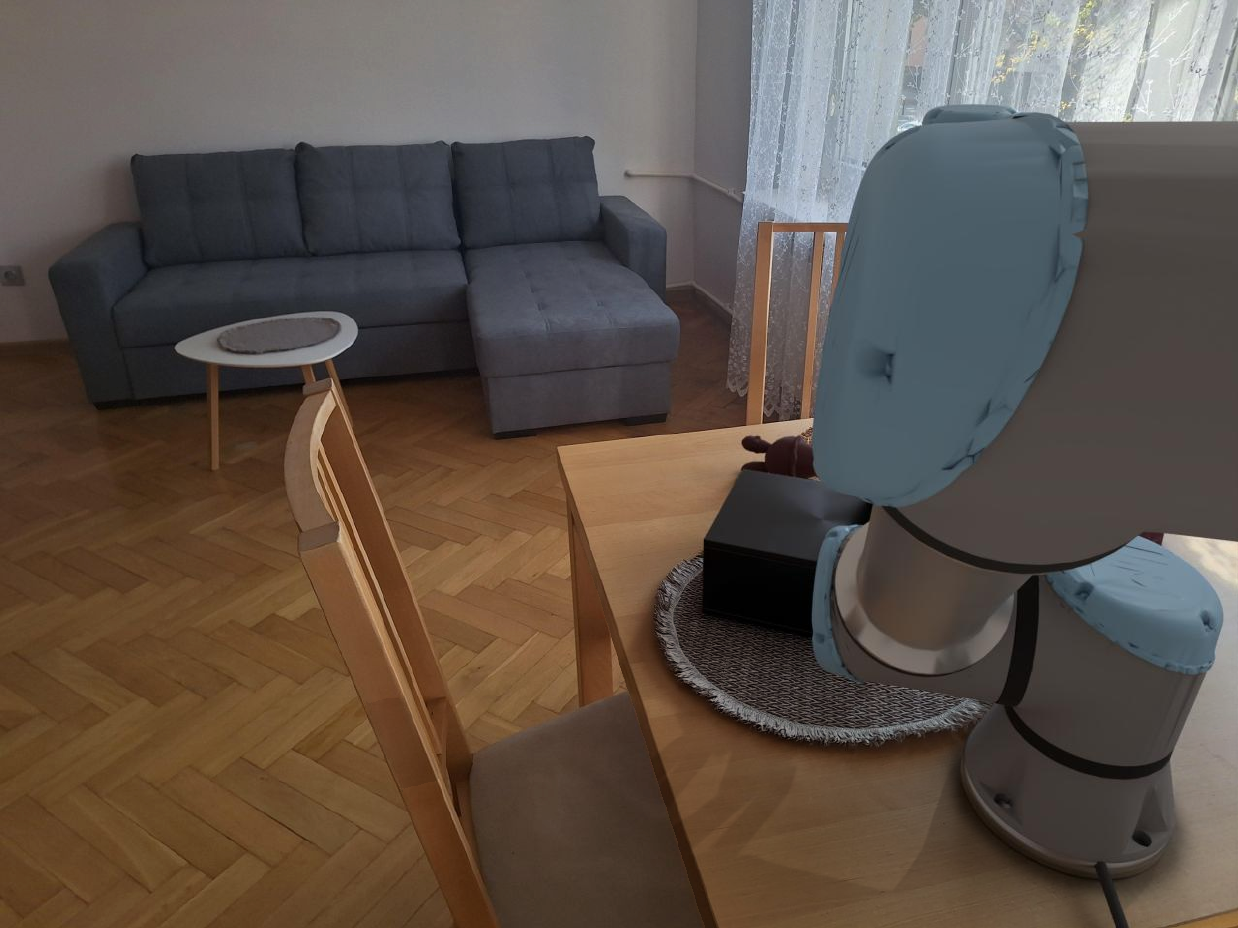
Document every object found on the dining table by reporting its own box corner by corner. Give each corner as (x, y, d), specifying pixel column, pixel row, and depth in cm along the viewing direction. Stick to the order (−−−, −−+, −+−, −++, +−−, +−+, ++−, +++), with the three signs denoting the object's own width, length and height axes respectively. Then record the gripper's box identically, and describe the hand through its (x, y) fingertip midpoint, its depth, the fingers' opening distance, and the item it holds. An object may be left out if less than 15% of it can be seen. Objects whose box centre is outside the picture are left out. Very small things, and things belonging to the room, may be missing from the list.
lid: (933, 506, 90) (947, 429, 86) (921, 589, 78) (937, 504, 73) (742, 474, 98) (745, 402, 93) (703, 545, 85) (704, 466, 81)
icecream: (857, 433, 111) (748, 426, 117) (849, 444, 105) (734, 436, 111) (854, 483, 113) (747, 473, 119) (846, 497, 106) (733, 486, 112)
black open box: (914, 570, 95) (926, 505, 91) (900, 658, 82) (912, 587, 78) (739, 537, 102) (742, 475, 98) (701, 613, 90) (703, 546, 85)
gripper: (1044, 292, 73) (994, 517, 84) (853, 278, 78) (830, 490, 90) (1047, 320, 67) (993, 558, 78) (840, 301, 72) (817, 526, 84)
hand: (906, 521), depth 84 cm, fingers open, 3 cm apart
